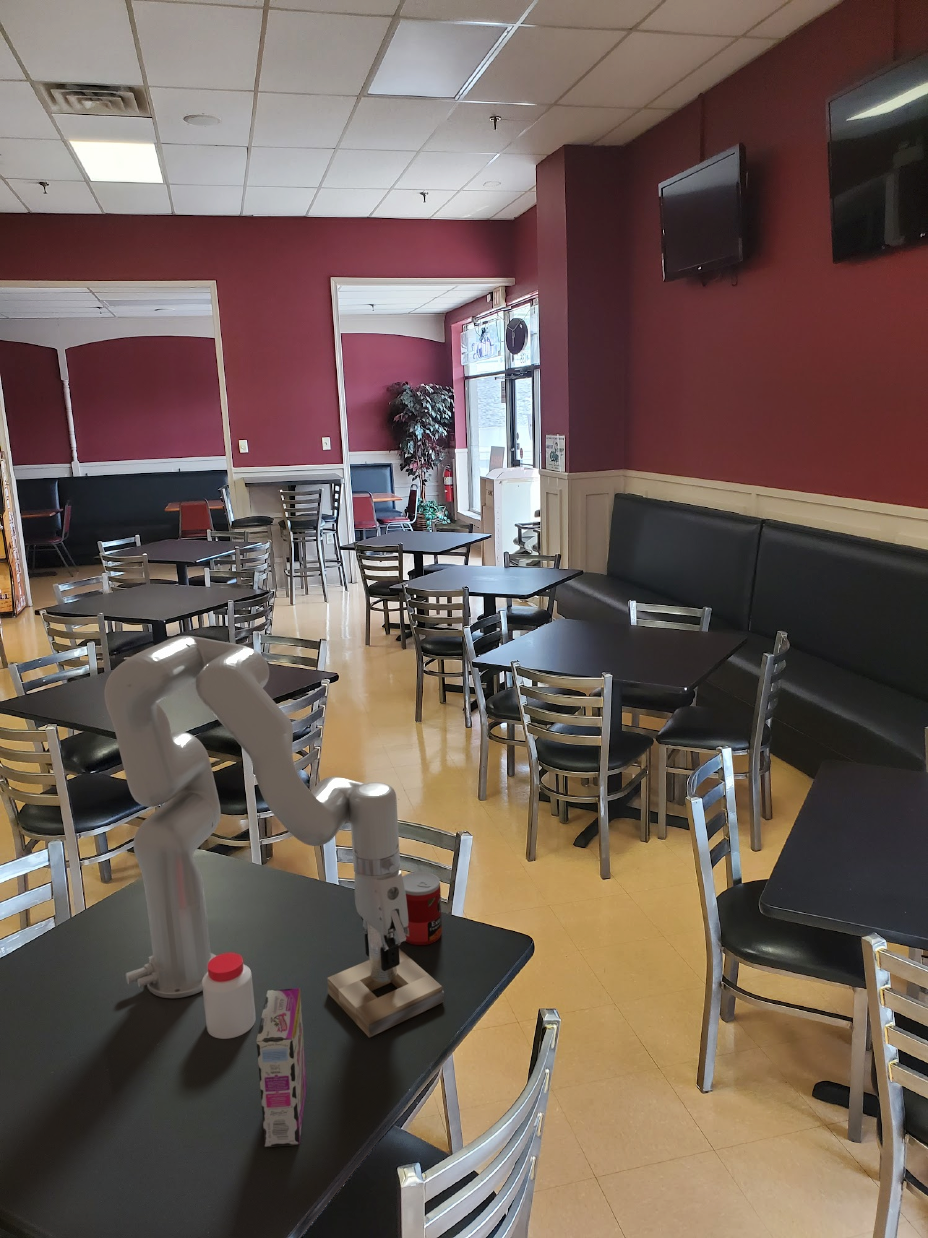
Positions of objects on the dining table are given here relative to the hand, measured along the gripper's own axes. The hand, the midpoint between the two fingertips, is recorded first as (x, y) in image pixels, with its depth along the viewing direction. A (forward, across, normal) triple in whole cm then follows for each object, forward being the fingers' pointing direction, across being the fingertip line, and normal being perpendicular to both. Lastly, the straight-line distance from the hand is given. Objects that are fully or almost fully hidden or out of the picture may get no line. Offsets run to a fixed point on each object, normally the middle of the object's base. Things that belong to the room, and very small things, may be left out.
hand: (382, 959), depth 146 cm
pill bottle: (+8, +10, +23) cm, 26 cm away
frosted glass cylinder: (+3, 0, 0) cm, 3 cm away
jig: (+7, 0, 0) cm, 7 cm away
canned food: (+8, +12, -15) cm, 21 cm away
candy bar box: (+8, -14, +24) cm, 29 cm away
